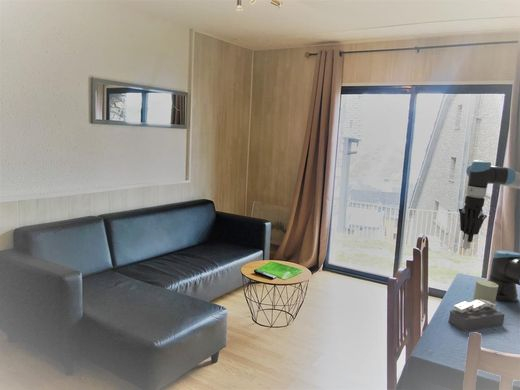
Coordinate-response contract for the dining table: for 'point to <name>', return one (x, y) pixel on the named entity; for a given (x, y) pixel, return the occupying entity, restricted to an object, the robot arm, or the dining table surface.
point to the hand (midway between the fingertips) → (466, 248)
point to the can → (485, 291)
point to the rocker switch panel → (476, 318)
